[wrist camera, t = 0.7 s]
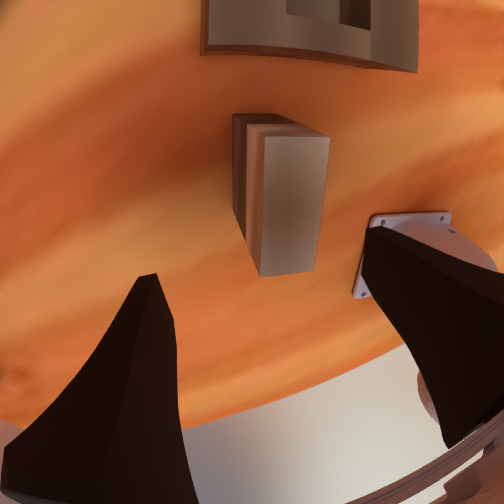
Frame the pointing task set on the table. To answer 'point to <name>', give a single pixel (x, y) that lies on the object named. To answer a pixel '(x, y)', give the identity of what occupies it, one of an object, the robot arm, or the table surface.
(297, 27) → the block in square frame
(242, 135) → the rectangular block end
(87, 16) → the table surface
